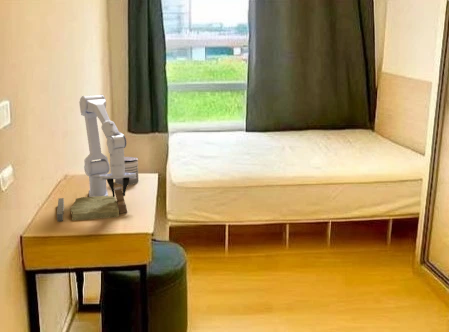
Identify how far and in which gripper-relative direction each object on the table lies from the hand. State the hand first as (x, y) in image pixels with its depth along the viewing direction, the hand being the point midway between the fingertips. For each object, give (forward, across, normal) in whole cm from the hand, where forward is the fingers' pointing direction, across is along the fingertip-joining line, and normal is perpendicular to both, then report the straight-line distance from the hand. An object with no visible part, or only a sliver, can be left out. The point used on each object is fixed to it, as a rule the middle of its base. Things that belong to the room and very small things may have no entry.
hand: (118, 195), depth 230 cm
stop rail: (+5, -23, -2) cm, 24 cm away
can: (+5, +6, +37) cm, 38 cm away
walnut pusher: (+5, +1, 0) cm, 5 cm away
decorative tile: (+6, -10, -2) cm, 12 cm away
